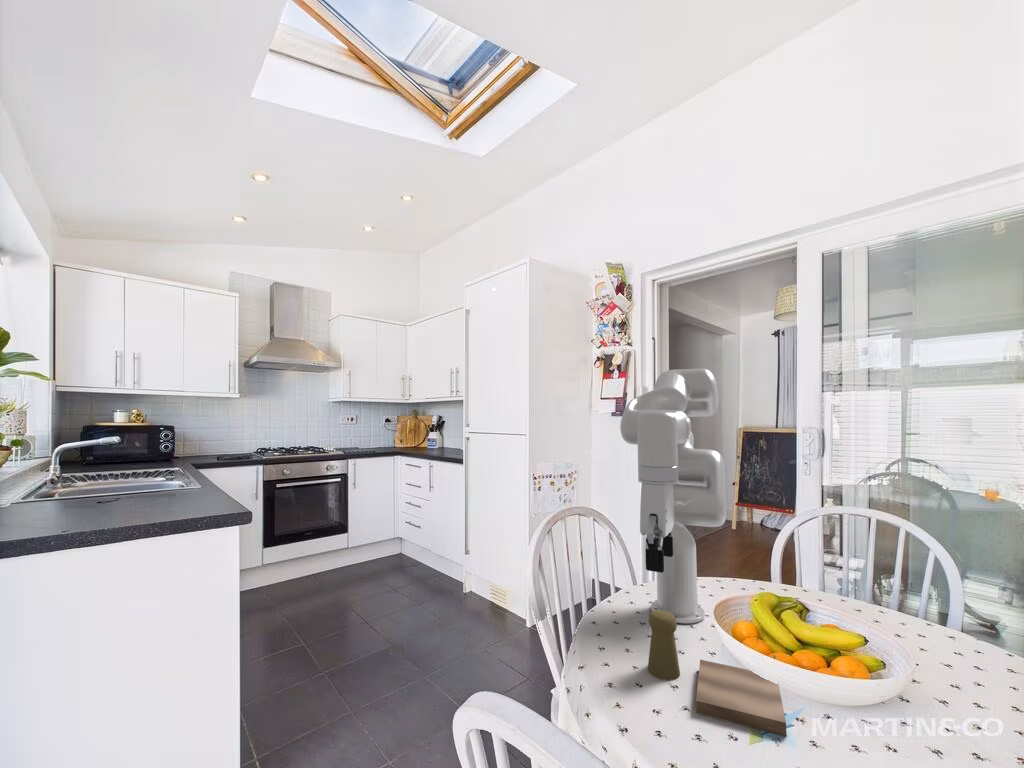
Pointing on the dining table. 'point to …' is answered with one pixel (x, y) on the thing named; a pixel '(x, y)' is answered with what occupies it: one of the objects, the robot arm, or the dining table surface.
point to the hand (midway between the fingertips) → (660, 563)
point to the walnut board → (739, 697)
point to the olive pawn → (663, 646)
